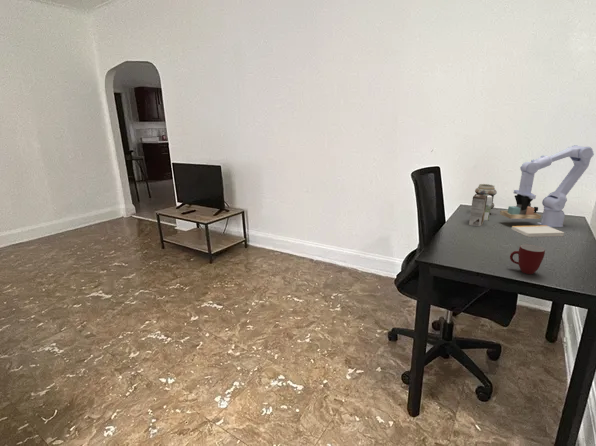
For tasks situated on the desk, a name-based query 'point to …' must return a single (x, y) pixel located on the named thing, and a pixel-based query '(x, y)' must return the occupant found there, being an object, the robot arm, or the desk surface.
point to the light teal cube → (513, 210)
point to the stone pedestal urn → (486, 191)
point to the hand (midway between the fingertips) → (521, 209)
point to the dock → (538, 231)
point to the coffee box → (478, 209)
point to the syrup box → (488, 207)
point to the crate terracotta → (530, 210)
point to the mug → (529, 258)
